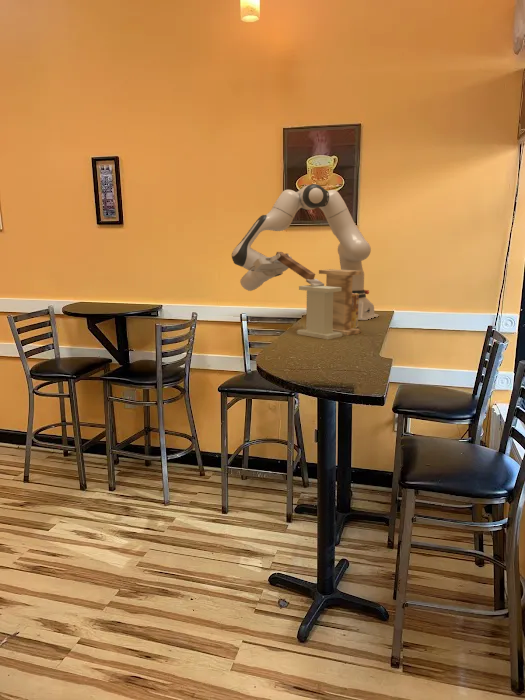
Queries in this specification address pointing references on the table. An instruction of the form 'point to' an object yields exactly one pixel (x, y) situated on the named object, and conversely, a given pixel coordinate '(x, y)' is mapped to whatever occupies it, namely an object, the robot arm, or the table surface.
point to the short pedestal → (319, 312)
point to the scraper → (300, 270)
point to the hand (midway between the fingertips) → (283, 254)
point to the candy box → (354, 310)
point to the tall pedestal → (342, 299)
